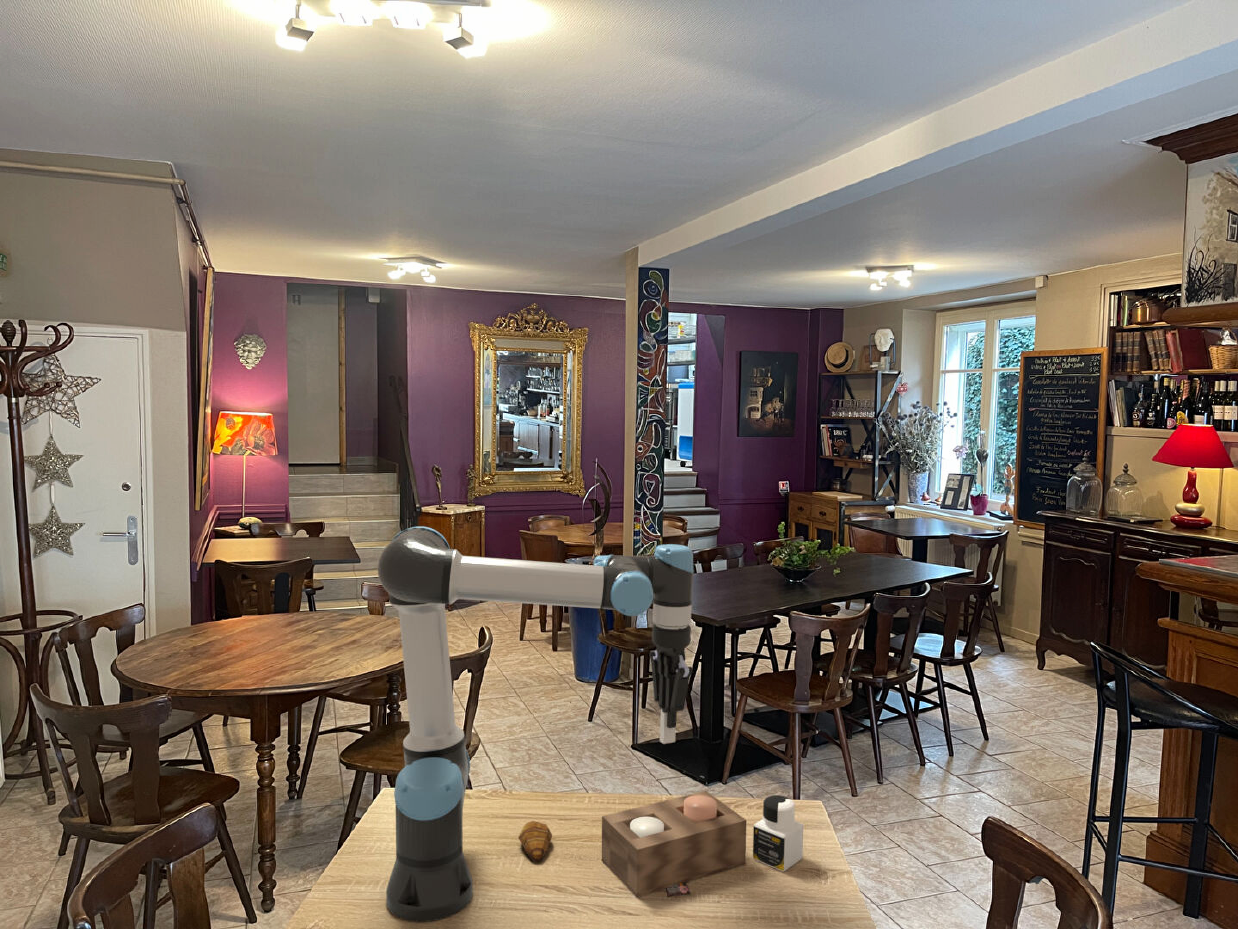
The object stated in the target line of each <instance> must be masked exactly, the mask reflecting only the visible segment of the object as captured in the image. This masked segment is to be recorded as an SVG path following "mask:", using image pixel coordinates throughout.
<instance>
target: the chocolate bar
mask: <svg viewBox="0 0 1238 929" xmlns="http://www.w3.org/2000/svg"><path fill="white" fill-rule="evenodd" d="M664 890H665V893H666V896H667V897H666V898H671V897H678V896H689V895H690V896H691V895H692V892H691V891H690V888H689V886H688V885H687V883H685V882H683V883H680V884H676V885H673V886H669V887H667V888H666V889H664Z"/></svg>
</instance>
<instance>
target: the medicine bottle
mask: <svg viewBox="0 0 1238 929" xmlns="http://www.w3.org/2000/svg"><path fill="white" fill-rule="evenodd" d="M795 806H796V804H795V802H794V800H792V799H791V798H789V797H787V796H784V795H779V794H777V795H776V794H775V795H769V796H767V797H766V798H765V799H764V800H763V808H762V819H760V820H759V821H757V822H755V823H754V824H753V830H752V831H753V834H752V835H753V836H752V839H753V840H752V859H753V860H755V861H756V862H759V863H761V864H764V865H766V866H769V867H771V868H773V869H775V870H777V871H780V872H782V873H784V872H785V871H787V870H788V869H790V868H791V867H793V866H794V865H795V864H797V863H798V862H799V861H800V860H802V859H803V858H804V857H803V856H804V849H803V848H804V823H802V822H799V821H797V820H795V815H796V814H795V811H796V807H795Z"/></svg>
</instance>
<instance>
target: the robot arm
mask: <svg viewBox="0 0 1238 929" xmlns="http://www.w3.org/2000/svg"><path fill="white" fill-rule="evenodd" d="M654 551H655V552H654V554H653V555H621V554H620V555H618V554H616V555H615V554H609V555H597V556H595V558H593V559H594V560H593V564H592V565H589V564H577V563H576V564H575V563H563V562H553V561H552V562H551V561H550V562H549V561H538V560H537V561H535V560H523V559H508V558H498V557H483V556H470V555H462V554H461V552H460V551H458V549H454V548H450V545H449V543H448V541H447V540H446V538H445V536H444V535H443V534H441V533H440V532H439V531H437V530H436V529H433V528H431V527H428V526H412V527H409V528H406V529H405V530H404V529H403V530H402V531H400V532H398V534H396V535H395V537H393V538H392V540H391V541H390V543H388V544H387V545H386V547H385V548H384V549H383V551H382V553H381V555H380V557H379V559H378V563H377V575H378V580H379V582H380V584H381V586H382V587H383V589H384V590H385V592H387V593H388V600H389V604H390V605H391V607H393V608H394V609H396V610H397V611H398V615H399V616H398V618H399V628H400V637H401V649H402V658H403V669H404V671H403V672H404V679H405V680H404V681H405V682H404V683H405V692H406V702H407V711H408V713H407V714H408V724H409V733H408V734H407V735H406V736H405V737H404V738H403V741H402V746H403V756H404V767H403V768H402V769H401V770H400V771H399V773H398V775H397V777H396V780H395V787H394V791H393V792H394V793H393V796H394V803H395V854H396V857H395V860H394V864H393V868H392V871H391V874H390V877H389V880H388V883H387V886H386V890H385V892H386V896H385V897H386V898H385V899H386V907H387V909H388V911H389V912H390V913H391V914H393V915H394V916H396V917H398V918H399V919H402V920H405V921H409V922H411V921H412V922H422V923H423V922H432V921H433V922H434V921H439V920H441V919H447V918H449V917H451V916H453V915H455V914H458V913H459V912H460V911H462V910H463V909H465V908H466V906H467V905H469V903H470V902H471V900H472V898H473V894H474V892H473V891H474V890H473V886H474V885H473V884H474V882H473V878H472V875H471V872H470V869H469V866H468V863H467V860H466V858H465V855H464V851H463V848H464V847H463V840H464V839H463V833H464V832H463V817H464V815H463V813H464V812H463V811H464V803H465V795H466V790H467V789H466V788H467V784H468V780H469V774H470V773H471V760H470V756H469V752H468V750H467V748H466V738H465V731H464V729H462V728H461V727H459V726H458V725H456V715H455V714H456V713H455V704H454V696H453V695H454V694H453V683H452V681H453V680H452V672H451V662H450V651H449V640H448V639H449V638H448V626H447V616H446V605H452V604H454V603H455V602H456V601H457V600H469V601H470V600H471V601H484V602H497V603H498V602H499V603H500V602H501V603H513V604H531V605H544V606H557V607H558V606H560V607H561V606H562V607H575V608H576V607H577V608H587V609H588V608H590V609H603V610H615V611H617V612H619V613H620V614H622V615H625V616H627V617H635V616H639V615H642V614H643V613H645V612H647V610H648V609H649V608H650V607H651V605H652V607H653V608H652V623H653V625H652V629H651V630H652V631H651V633H652V635H651V642H652V644H653V645H654V646H656V649H655V650H653V651H649V658H650V663H651V671H652V673H651V674H652V685H653V686H652V687H653V698H654V701H655V702H656V703H658V707H659V709H660V711H659V712H660V716H659V720H660V721H659V725H660V726H659V742H660V743H661V744H663V745H666V744H672V743H675V742H676V730H677V728H676V727H677V716H678V715H677V713H678V712H681V711H684V710H685V704H686V698H687V693H688V687H689V682H690V678H691V675H692V674H693V667H692V666H688V665H687V663H686V657H687V656H686V652H685V649H686V648H687V647H688V646H690V644H691V639H692V638H691V636H692V627H691V626H690V624H691V622H692V609H693V607H692V604H693V601H692V600H693V584H694V583H693V581H694V573H695V570H694V553H693V550H692V549H691V548H690V547H688V546H687V545H682V544H673V543H669V544H659V545H657V546H656V547H655V549H654Z"/></svg>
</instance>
